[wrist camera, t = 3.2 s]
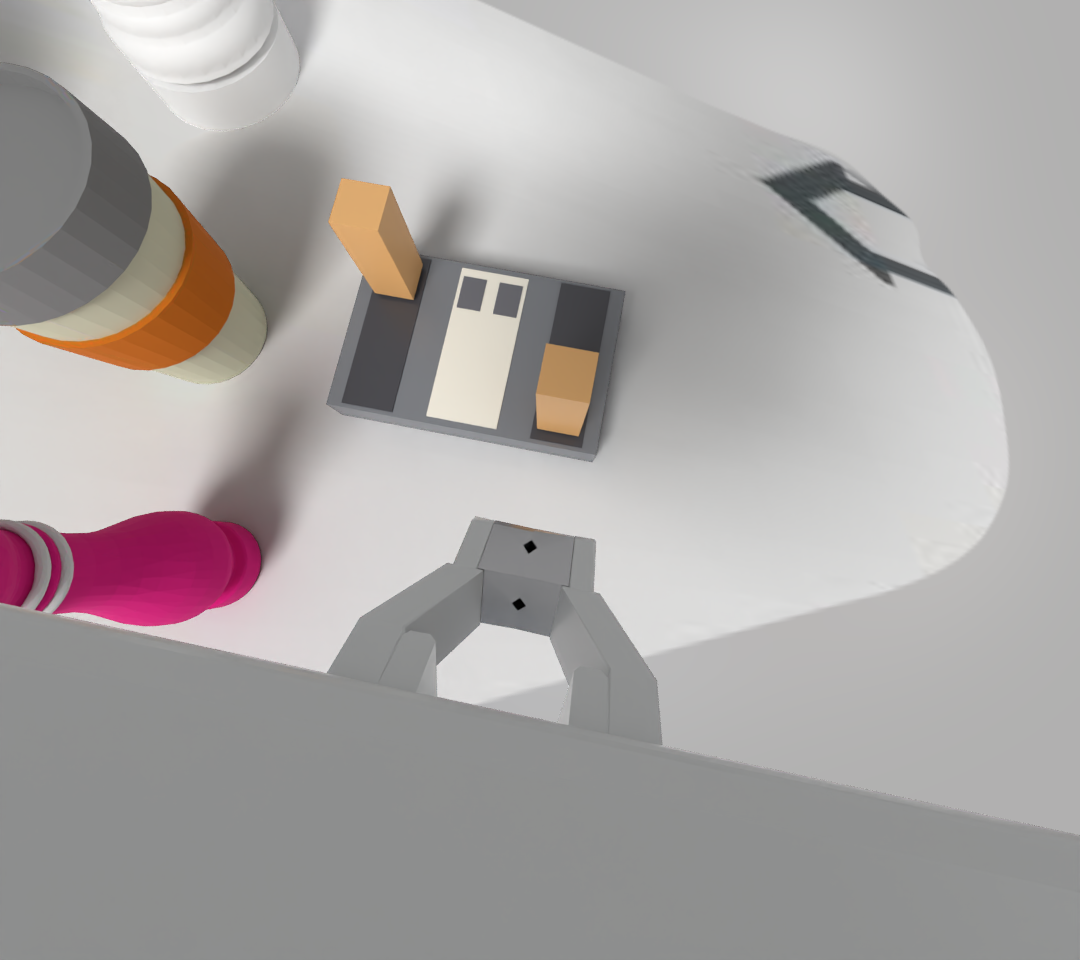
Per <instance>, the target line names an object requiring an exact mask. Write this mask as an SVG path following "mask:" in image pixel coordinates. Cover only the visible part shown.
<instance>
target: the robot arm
mask: <svg viewBox="0 0 1080 960" xmlns="http://www.w3.org/2000/svg"><path fill="white" fill-rule="evenodd" d="M595 554H596V541H595V540H594V539H588V538H583V537H577V536H575V537H574V536H570V535H565V534H560V533H554V532H549V531H544V530H538V529H533V528H528V527H523V526H519V525H514V524H510V523H505V522H501V521H494V520H489V519H485V518H480V517H476V516H475V518H474V519H473V520H472V521H471V524H470V526H469V528H468V531H467V533H466V535H465V538H464V540H463V542H462V545H461V547H460V549H459V552H458V554H457V556H456V559H455V561H454V563H453V564H450V563H446V564H445V565H443V566H441V567H440V568H438V569H437V570H435V571H434V572H432V573H430V574H429V575H427V576H426V577H424V578H422V579H421V580H419V581H418V582H416V583H414V584H413V585H411V586H410V587H408V588H406V589H405V590H403V591H402V592H400V593H398V594H397V595H395V596H394V597H392V598H391V599H389V600H387V601H386V602H384V603H383V604H381V605H379V606H378V607H376V608H375V609H373V610H371V611H370V612H368V613H367V614H365V615H363V616H362V617H360V618H359V620H358V622H357V623H356V625H355V627H354V629H353V630H352V632H351V634H350V635H349V637H348V639H347V640H346V642H345V644H344V645H343V647H342V649H341V650H340V652H339V654H338V655H337V657H336V659H335V660H334V662H333V664H332V665H331V667H330V669H329V670H328V672H327V673H323V672H319V671H314V670H310V669H305V668H300V667H296V666H291V665H286V664H282V663H277V662H272V661H268V660H263V659H259V658H254V657H249V656H245V655H240V654H235V653H231V652H226V651H221V650H217V649H212V648H208V647H203V646H198V645H194V644H189V643H184V642H180V641H175V640H171V639H166V638H161V637H157V636H152V635H147V634H143V633H138V632H134V631H129V630H124V629H120V628H115V627H110V626H106V625H101V624H97V623H92V622H87V621H83V620H78V619H74V618H69V617H64V616H60V615H55V614H50V613H46V612H41V611H37V610H32V609H27V608H23V607H18V606H13V605H9V604H4V603H0V960H1080V835H1076V834H1072V833H1067V832H1063V831H1058V830H1053V829H1049V828H1044V827H1039V826H1035V825H1030V824H1025V823H1020V822H1016V821H1011V820H1007V819H1002V818H997V817H993V816H988V815H983V814H979V813H974V812H969V811H965V810H960V809H955V808H951V807H946V806H942V805H937V804H932V803H928V802H923V801H918V800H913V799H909V798H904V797H900V796H895V795H891V794H886V793H881V792H877V791H871V790H867V789H862V788H858V787H853V786H849V785H844V784H839V783H835V782H830V781H825V780H821V779H816V778H811V777H807V776H802V775H797V774H793V773H788V772H784V771H779V770H774V769H769V768H765V767H760V766H756V765H751V764H747V763H742V762H737V761H732V760H728V759H723V758H718V757H714V756H709V755H705V754H700V753H695V752H691V751H686V750H682V749H676V748H672V747H667V746H663V745H662V734H661V723H660V711H659V701H658V700H659V699H658V687H657V680H656V678H655V677H654V675H653V674H652V672H651V671H650V669H649V668H648V666H647V665H646V663H645V662H644V660H643V658H642V657H641V655H640V654H639V652H638V651H637V649H636V648H635V646H634V645H633V643H632V642H631V640H630V639H629V637H628V636H627V634H626V633H625V631H624V630H623V628H622V627H621V625H620V623H619V622H618V620H617V619H616V617H615V616H614V614H613V613H612V611H611V610H610V608H609V607H608V605H607V604H606V602H605V601H604V599H603V598H602V596H601V595H600V594H599V593H595V592H594V575H595ZM480 622H481V623H486V624H492V625H497V626H503V627H509V628H514V629H519V630H523V631H527V632H532V633H536V634H540V635H544V636H549V637H550V640H551V643H552V645H553V648H554V650H555V653H556V655H557V657H558V660H559V662H560V665H561V667H562V670H563V672H564V675H565V677H566V679H567V682H568V684H569V688H568V691H567V694H566V697H565V700H564V703H563V706H562V709H561V712H560V715H559V718H558V721H557V723H556V722H551V721H547V720H542V719H537V718H533V717H528V716H524V715H519V714H514V713H510V712H505V711H500V710H496V709H491V708H486V707H482V706H477V705H472V704H468V703H463V702H458V701H454V700H449V699H444V698H440V697H437V676H436V665H438V664H439V663H440V662H441V661H442V660H443V659H444V658H445V657H446V656H447V655H448V654H449V653H450V652H451V651H452V650H453V649H454V648H456V647H457V646H458V645H459V644H460V643H461V642H462V641H463V640H464V639H465V638H466V637H467V636H468V635H469V634H470V633H471V632H473V631H474V630H475V629H476V628H477V627H478V626H479V625H480ZM515 627H516V628H515Z"/></svg>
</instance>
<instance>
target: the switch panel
mask: <svg viewBox="0 0 1080 960" xmlns="http://www.w3.org/2000/svg"><path fill="white" fill-rule="evenodd" d="M419 256H420V258H421V261H422V263H423V266H422V270H421V274H420V278H419V281H418V285H417V289H416V293H415V297H414V300H411V299H405V298H400V297H394V296H388V295H383V294H377V293H375V292H374V291H373V289H372V288H371V286H370V285H369V283H368V282H367V280H366V279H365V277H364V276H362V280H361V283H360V287H359V291H358V294H357V298H356V301H355V305H354V308H353V312H352V315H351V319H350V322H349V326H348V329H347V333H346V336H345V340H344V343H343V347H342V350H341V354H340V357H339V361H338V364H337V368H336V371H335V375H334V379H333V382H332V386H331V389H330V393H329V396H328V400H327V403H326V404H327V405H329V406H330V407H332V408H333V409H335V410H336V411H338V412H339V413H341V414H342V415H348V416H353V417H358V418H363V419H369V420H374V421H379V422H384V423H390V424H395V425H400V426H405V427H411V428H416V429H421V430H426V431H432V432H437V433H442V434H447V435H453V436H458V437H463V438H468V439H474V440H479V441H484V442H490V443H495V444H500V445H505V446H511V447H516V448H521V449H526V450H532V451H537V452H542V453H547V454H553V455H558V456H563V457H568V458H574V459H579V460H584V461H589V462H592V461H593V459H594V458H595V456H596V453H597V448H598V442H599V436H600V431H601V425H602V419H603V414H604V408H605V403H606V397H607V391H608V386H609V380H610V375H611V369H612V363H613V358H614V352H615V347H616V341H617V335H618V330H619V324H620V318H621V313H622V307H623V302H624V296H625V291H622V290H616V289H610V288H605V287H599V286H593V285H588V284H582V283H576V282H571V281H565V280H559V279H554V278H548V277H542V276H537V275H531V274H525V273H520V272H514V271H508V270H503V269H497V268H491V267H486V266H480V265H474V264H469V263H463V262H457V261H452V260H446V259H440V258H435V257H429V256H423V255H419ZM546 343H548V344H553V345H559V346H564V347H570V348H575V349H581V350H586V351H592V352H597V353H599V356H598V362H597V367H596V373H595V378H594V384H593V389H592V394H591V400H590V404H589V407H588V410H587V413H586V416H585V419H584V422H583V425H582V428H581V431H580V434H579V436H573V435H568V434H563V433H557V432H552V431H547V430H541V429H537V412H536V390H537V386H538V381H539V376H540V371H541V366H542V361H543V356H544V352H545V347H546Z"/></svg>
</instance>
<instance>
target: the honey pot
mask: <svg viewBox="0 0 1080 960" xmlns="http://www.w3.org/2000/svg"><path fill="white" fill-rule="evenodd" d="M90 1H91V3H92V4H93V6H94V7H95V8H96V9H97V11H98V14H99V17H100V19H101V22H102V25H103V28H104V30H105V31H106V33H107V34H108V36H109V37H110V39H111V40H112V41H113V43H114V44H115V45H116V46H117V48H118V49H119V50H120V51H121V52H122V53H123V54H124V55H125V57H126V58H127V59H128V60H129V62H130V63H131V64H132V65H133V66H134V67H135V69H136V70H137V71H138V72H139V74H140V75H141V76H142V77H143V78H144V80H145V81H146V82H147V83H148V84H149V85H150V87H151V88H152V89H153V90H154V91H155V92H156V94H157V95H158V96H159V97H160V98H161V100H162V101H163V102H164V103H165V104H166V105H167V107H168V108H169V109H170V110H171V111H172V112H173V114H174V115H176V116H177V117H179V118H180V119H182V120H183V121H185V122H186V123H187V124H190V125H193V126H196V127H199V128H201V129H204V130H215V131H229V130H236V129H243V128H245V127H248V126H251V125H253V124H256V123H259V122H261V121H263V120H264V119H266V118H267V117H269V116H270V115H272V114H273V113H275V112H276V111H277V110H278V109H279V108H280V107H281V106H282V105H283V104H284V103H285V102H286V101H287V100H288V99H289V97H290V95H291V93H292V92H293V90H294V88H295V86H296V84H297V81H298V76H299V72H300V61H299V53H298V50H297V48H296V46H295V43H294V41H293V39H292V37H291V35H290V33H289V31H288V29H287V27H286V25H285V23H284V21H283V18H282V16H281V14H280V12H279V10H278V8H277V6H276V4H275V2H274V0H90Z"/></svg>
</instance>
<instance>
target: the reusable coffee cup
mask: <svg viewBox="0 0 1080 960" xmlns="http://www.w3.org/2000/svg"><path fill="white" fill-rule="evenodd" d="M0 325H1V326H11V327H15V328H16V329H17V330H18V331H20V332H21V333H22V334H23V335H25V336H27V337H29V338H31V339H33V340H35V341H37V342H40V343H42V344H46V345H49V346H52V347H56V348H59V349H63V350H66V351H69V352H73V353H76V354H79V355H83V356H86V357H90V358H93V359H96V360H100V361H103V362H106V363H110V364H113V365H117V366H120V367H124V368H129V369H133V370H153V371H156V372H160V373H163V374H166V375H169V376H173V377H176V378H179V379H182V380H185V381H189V382H193V383H197V384H213V383H220V382H223V381H226V380H229V379H231V378H233V377H235V376H237V375H239V374H240V373H242V372H243V371H244V370H245V369H247V368H248V367H249V366H250V365H251V364H252V363H253V362H254V360H255V359H256V358H257V356H258V355H259V353H260V351H261V350H262V347H263V345H264V342H265V339H266V333H267V319H266V316H265V312H264V310H263V308H262V306H261V304H260V302H259V301H258V300H257V299H256V297H255V296H254V295H253V294H252V293H251V292H250V291H249V289H248V288H247V287H246V286H245V285H244V284H243V282H242V281H241V280H240V279H239V278H238V277H237V276H236V274H235V273H234V272H233V270H232V267H231V264H230V262H229V260H228V258H227V256H226V255H225V253H224V252H223V250H222V249H221V248H220V247H219V246H218V244H217V243H216V242H215V241H214V240H213V239H212V237H211V236H210V235H209V234H208V233H207V231H206V230H205V229H204V228H203V227H202V226H201V224H200V223H199V222H198V221H197V220H196V218H195V217H194V216H193V215H192V214H191V213H190V211H189V210H188V209H187V208H186V207H185V205H184V204H183V203H182V202H181V201H180V200H179V198H178V197H177V196H176V195H175V194H174V193H173V192H172V190H171V189H170V188H169V187H167V186H166V185H165V184H163V183H162V182H160V181H159V180H158V179H156V178H155V177H152V176H150V175H149V174H148V173H147V170H146V168H145V166H144V164H143V162H142V160H141V158H140V156H139V154H138V153H137V152H136V151H135V149H134V148H133V147H132V146H131V145H130V144H129V143H128V142H127V140H126V139H125V138H124V137H122V136H121V135H120V134H119V133H118V132H116V131H115V130H114V129H113V128H112V127H110V126H109V125H108V124H107V123H106V122H104V121H103V120H102V119H101V118H100V117H98V116H97V115H96V114H95V113H94V112H92V111H91V110H90V109H89V108H88V107H86V106H85V105H84V104H83V103H82V102H81V101H79V100H78V99H77V98H76V97H75V96H73V95H72V94H71V93H70V92H69V91H67V90H66V89H65V88H64V87H62V86H61V85H59V84H58V83H57V82H55V81H54V80H52V79H51V78H50V77H48V76H46V75H44V74H42V73H39V72H37V71H35V70H33V69H30V68H28V67H24V66H19V65H14V64H10V63H5V62H0Z"/></svg>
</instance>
